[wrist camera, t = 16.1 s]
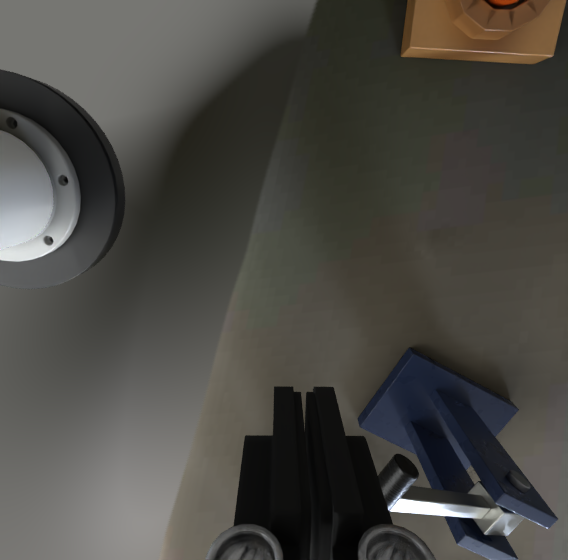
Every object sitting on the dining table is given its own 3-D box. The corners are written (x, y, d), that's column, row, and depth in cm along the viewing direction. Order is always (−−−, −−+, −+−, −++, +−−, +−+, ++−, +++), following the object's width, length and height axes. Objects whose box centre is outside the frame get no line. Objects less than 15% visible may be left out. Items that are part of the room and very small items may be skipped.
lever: (339, 505, 23) (357, 546, 21) (385, 445, 21) (409, 483, 19) (470, 516, 29) (494, 549, 26) (512, 470, 27) (541, 501, 25)
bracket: (357, 418, 37) (392, 543, 25) (409, 346, 35) (476, 445, 22) (455, 466, 39) (533, 605, 26) (511, 401, 36) (625, 520, 24)
